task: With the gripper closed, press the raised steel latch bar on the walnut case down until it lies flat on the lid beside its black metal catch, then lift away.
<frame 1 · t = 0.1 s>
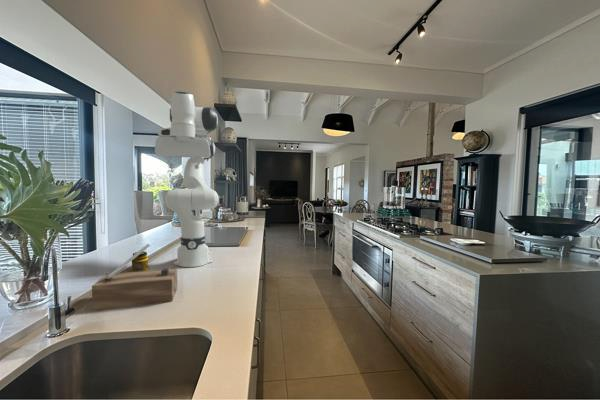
hand: (184, 168, 106), 48 cm above the worktop, tool pointing down, fingers open, 8 cm apart
latch bar: (128, 261, 95), point 14 cm above the worktop, hinge at 40.0°
condiment: (138, 281, 114), on the worktop
walnut case: (139, 297, 97), on the worktop
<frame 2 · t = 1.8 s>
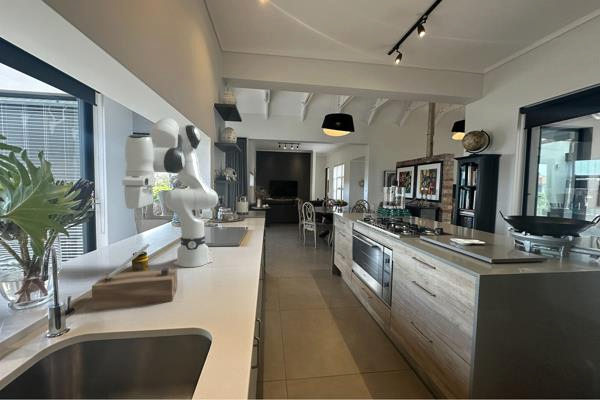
hand: (141, 218, 95), 29 cm above the worktop, tool pointing down, fingers closed
nothing on the worktop moved.
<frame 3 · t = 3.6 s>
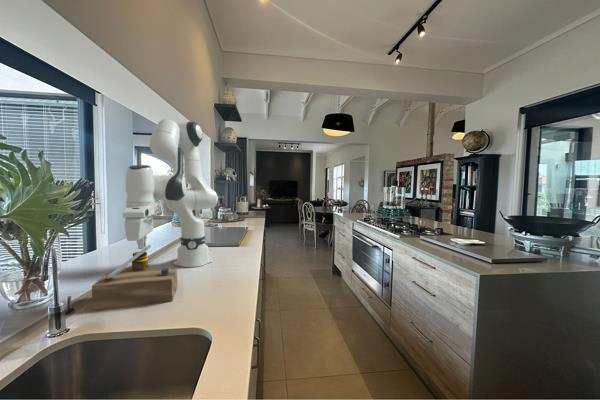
hand: (141, 248, 96), 18 cm above the worktop, tool pointing down, fingers closed, pressing on latch bar
latch bar: (128, 262, 95), point 14 cm above the worktop, hinge at 38.0°, touching gripper
everything else where it was.
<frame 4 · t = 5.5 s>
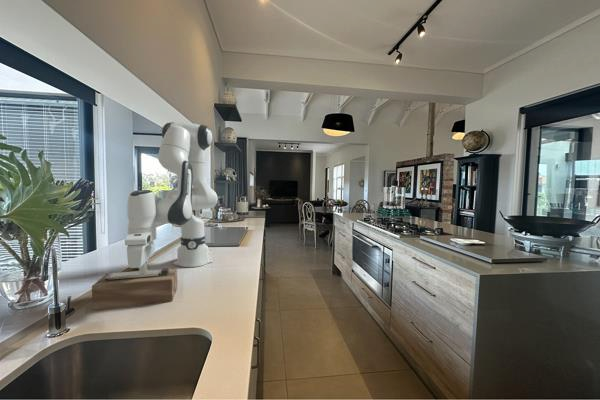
hand: (143, 272, 96), 9 cm above the worktop, tool pointing down, fingers closed, pressing on latch bar
latch bar: (134, 274, 96), point 9 cm above the worktop, hinge at -0.1°, touching gripper
everything else where it was.
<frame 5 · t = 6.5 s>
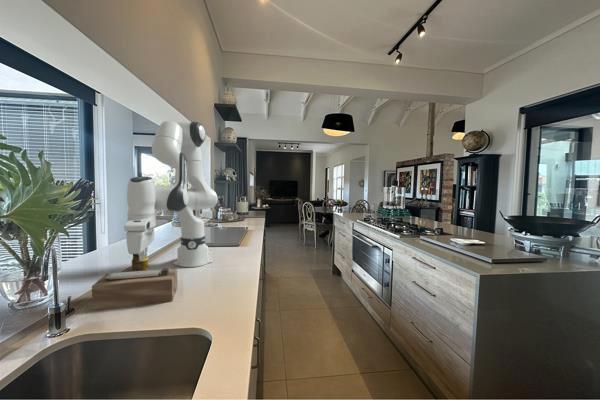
hand: (143, 259, 97), 14 cm above the worktop, tool pointing down, fingers closed
latch bar: (134, 274, 96), point 9 cm above the worktop, hinge at -0.1°
everything else where it was.
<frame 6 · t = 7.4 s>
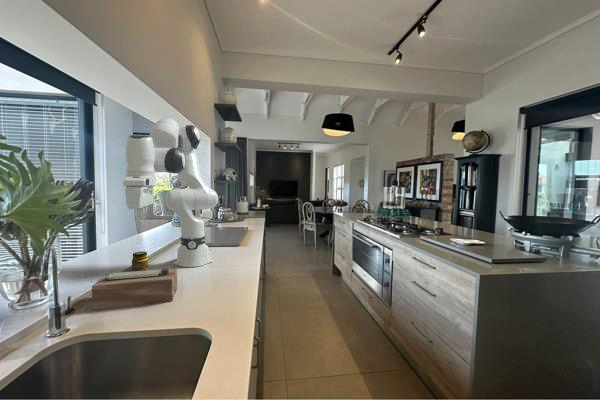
hand: (142, 218, 96), 29 cm above the worktop, tool pointing down, fingers closed
nothing on the worktop moved.
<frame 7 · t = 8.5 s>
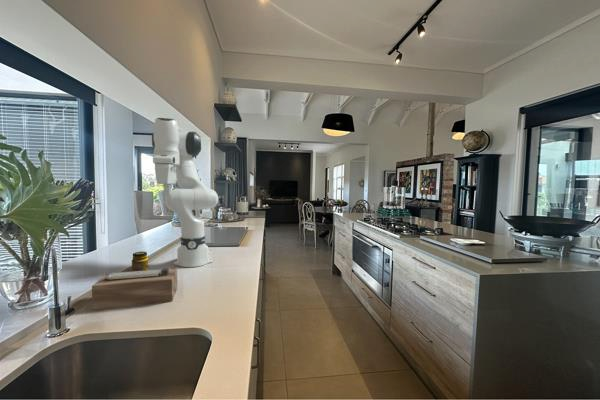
hand: (167, 195, 104), 37 cm above the worktop, tool pointing down, fingers closed
nothing on the worktop moved.
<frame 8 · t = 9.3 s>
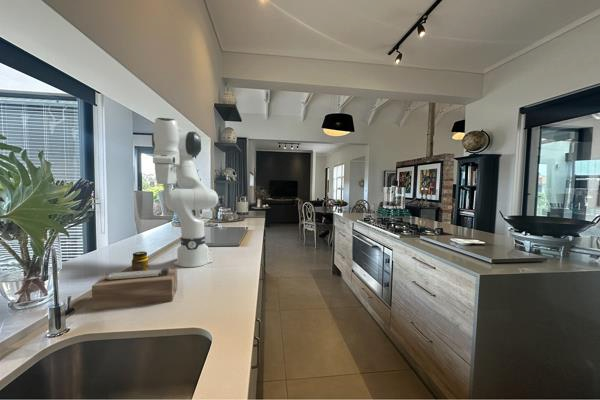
hand: (167, 195, 104), 37 cm above the worktop, tool pointing down, fingers closed
nothing on the worktop moved.
at the end: latch bar at +0° (first picture: +40°); condiment moved 0.3 cm from its start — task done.
